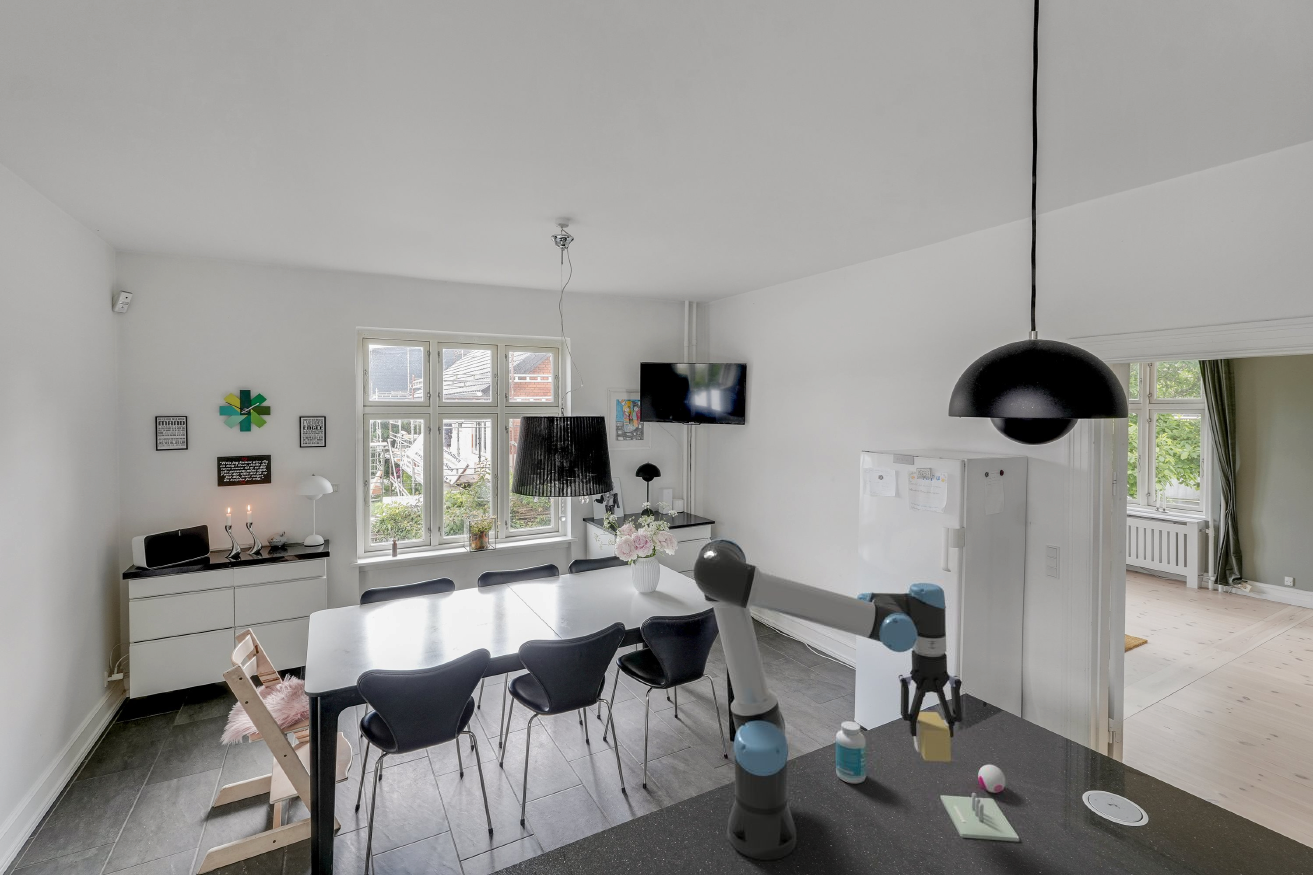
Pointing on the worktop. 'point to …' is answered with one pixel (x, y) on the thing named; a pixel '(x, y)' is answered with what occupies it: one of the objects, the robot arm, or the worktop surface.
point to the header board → (978, 818)
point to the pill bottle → (850, 753)
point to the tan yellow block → (934, 737)
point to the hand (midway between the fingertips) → (931, 749)
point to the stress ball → (991, 778)
